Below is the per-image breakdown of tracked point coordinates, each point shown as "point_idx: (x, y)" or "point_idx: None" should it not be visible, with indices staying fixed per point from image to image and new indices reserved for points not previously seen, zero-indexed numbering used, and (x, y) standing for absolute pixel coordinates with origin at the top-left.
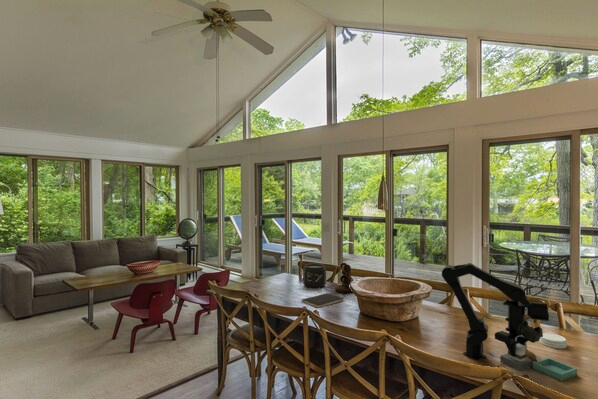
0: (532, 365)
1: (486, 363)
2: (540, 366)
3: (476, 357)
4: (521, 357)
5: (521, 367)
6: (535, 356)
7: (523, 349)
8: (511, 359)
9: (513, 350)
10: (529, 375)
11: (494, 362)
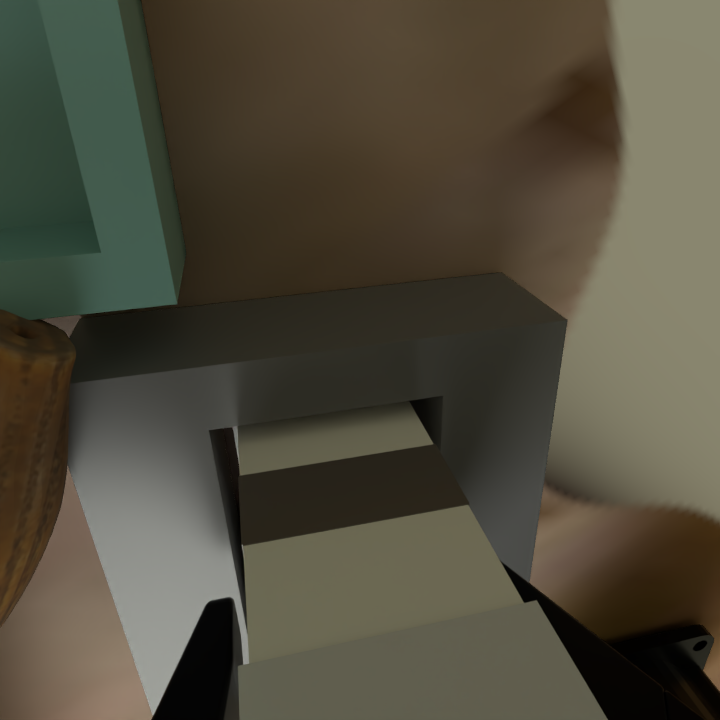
0: (99, 328)
1: (675, 554)
2: (137, 71)
3: (667, 662)
4: (416, 476)
5: (496, 296)
6: None
7: (394, 687)
8: (501, 515)
9: (636, 678)
10: (526, 80)
11: (565, 557)
